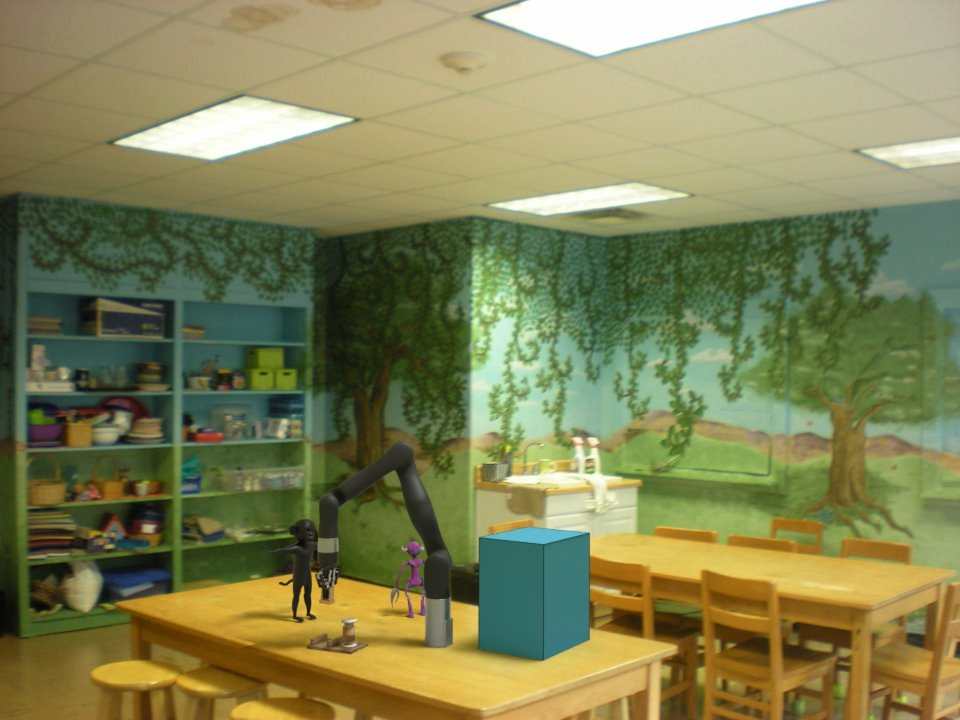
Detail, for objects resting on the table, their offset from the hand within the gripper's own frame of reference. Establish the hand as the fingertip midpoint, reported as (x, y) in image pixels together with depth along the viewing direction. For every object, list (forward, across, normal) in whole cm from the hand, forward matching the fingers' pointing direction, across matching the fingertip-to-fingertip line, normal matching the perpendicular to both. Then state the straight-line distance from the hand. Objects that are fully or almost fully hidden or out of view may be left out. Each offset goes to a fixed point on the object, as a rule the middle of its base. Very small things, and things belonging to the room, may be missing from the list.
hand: (327, 598), depth 351 cm
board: (+17, 0, -4) cm, 18 cm away
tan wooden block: (+2, 0, 0) cm, 2 cm away
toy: (+17, +56, -6) cm, 59 cm away
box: (+17, +31, -68) cm, 76 cm away
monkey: (+17, +33, +36) cm, 52 cm away
